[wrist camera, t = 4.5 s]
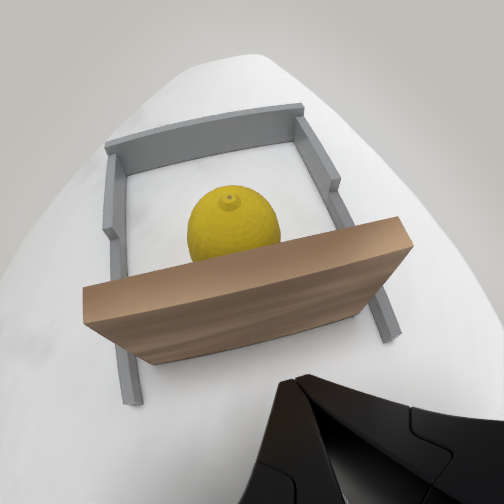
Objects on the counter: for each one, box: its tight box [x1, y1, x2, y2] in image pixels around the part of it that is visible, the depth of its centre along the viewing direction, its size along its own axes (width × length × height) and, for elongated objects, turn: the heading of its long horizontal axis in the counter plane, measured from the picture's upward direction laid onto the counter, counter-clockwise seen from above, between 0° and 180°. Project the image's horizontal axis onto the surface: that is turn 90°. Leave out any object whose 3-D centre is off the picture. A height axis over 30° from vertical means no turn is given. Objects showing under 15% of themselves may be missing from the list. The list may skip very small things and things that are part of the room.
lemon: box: [187, 185, 281, 262], centre depth 19 cm, size 6×6×8 cm
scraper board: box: [83, 216, 414, 365], centre depth 16 cm, size 2×14×9 cm, turn 104°
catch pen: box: [102, 103, 402, 405], centre depth 22 cm, size 21×18×4 cm
